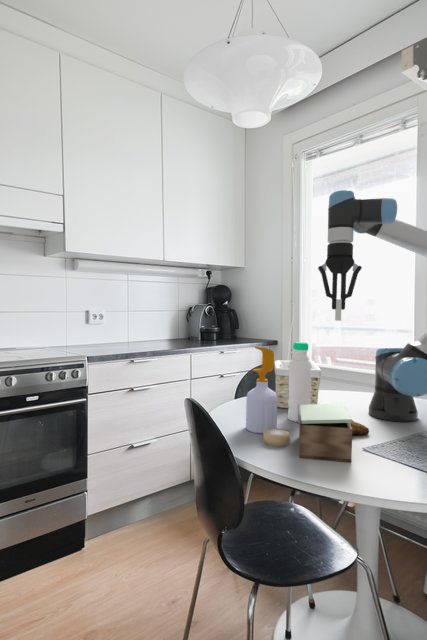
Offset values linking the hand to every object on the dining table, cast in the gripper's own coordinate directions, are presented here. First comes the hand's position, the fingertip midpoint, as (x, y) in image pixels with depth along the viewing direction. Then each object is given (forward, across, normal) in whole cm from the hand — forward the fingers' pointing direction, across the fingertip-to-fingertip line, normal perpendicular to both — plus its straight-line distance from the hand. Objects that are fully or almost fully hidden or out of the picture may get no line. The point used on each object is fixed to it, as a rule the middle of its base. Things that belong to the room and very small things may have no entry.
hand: (338, 320), depth 124 cm
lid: (+24, +5, +23) cm, 33 cm away
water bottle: (+33, +11, -2) cm, 34 cm away
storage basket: (+33, +12, -26) cm, 43 cm away
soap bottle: (+33, +22, +11) cm, 41 cm away
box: (+32, +5, +23) cm, 40 cm away
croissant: (+33, -2, +9) cm, 34 cm away
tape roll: (+33, +17, +21) cm, 42 cm away
